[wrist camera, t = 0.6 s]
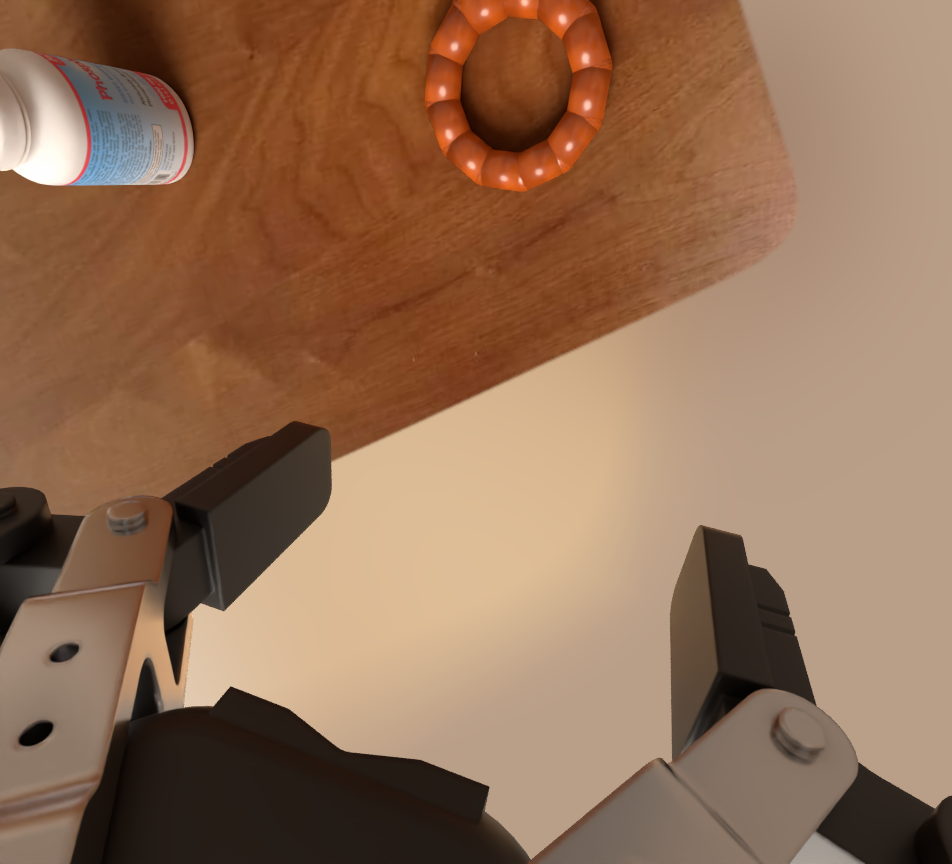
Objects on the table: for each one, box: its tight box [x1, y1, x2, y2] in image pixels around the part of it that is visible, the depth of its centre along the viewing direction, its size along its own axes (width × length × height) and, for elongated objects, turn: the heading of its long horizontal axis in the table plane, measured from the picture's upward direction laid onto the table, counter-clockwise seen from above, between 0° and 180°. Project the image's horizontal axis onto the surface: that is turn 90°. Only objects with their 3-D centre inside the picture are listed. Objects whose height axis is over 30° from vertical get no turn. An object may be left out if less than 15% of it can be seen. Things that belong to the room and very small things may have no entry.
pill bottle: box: [0, 49, 194, 185], centre depth 30 cm, size 6×6×11 cm
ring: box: [425, 0, 613, 191], centre depth 27 cm, size 9×9×2 cm
